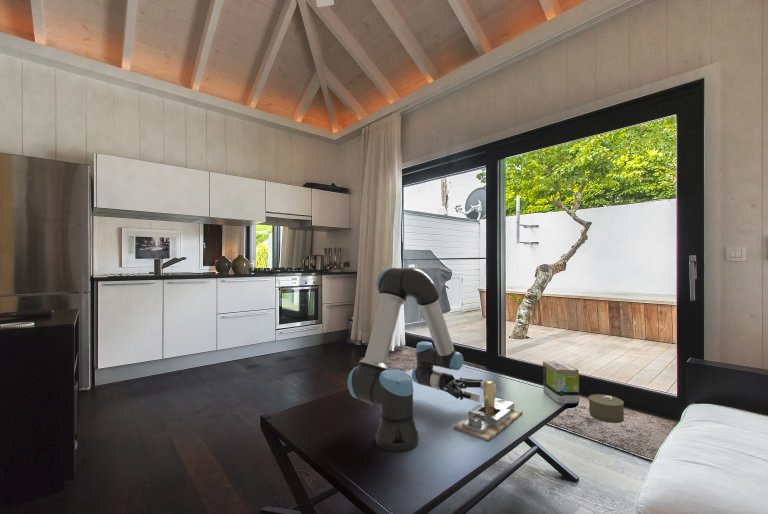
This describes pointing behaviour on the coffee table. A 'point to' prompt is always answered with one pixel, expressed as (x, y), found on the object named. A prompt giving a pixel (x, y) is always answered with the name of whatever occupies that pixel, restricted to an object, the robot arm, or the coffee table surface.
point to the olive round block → (606, 408)
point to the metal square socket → (488, 416)
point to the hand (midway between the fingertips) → (487, 393)
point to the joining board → (493, 430)
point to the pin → (489, 398)
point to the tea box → (561, 381)
